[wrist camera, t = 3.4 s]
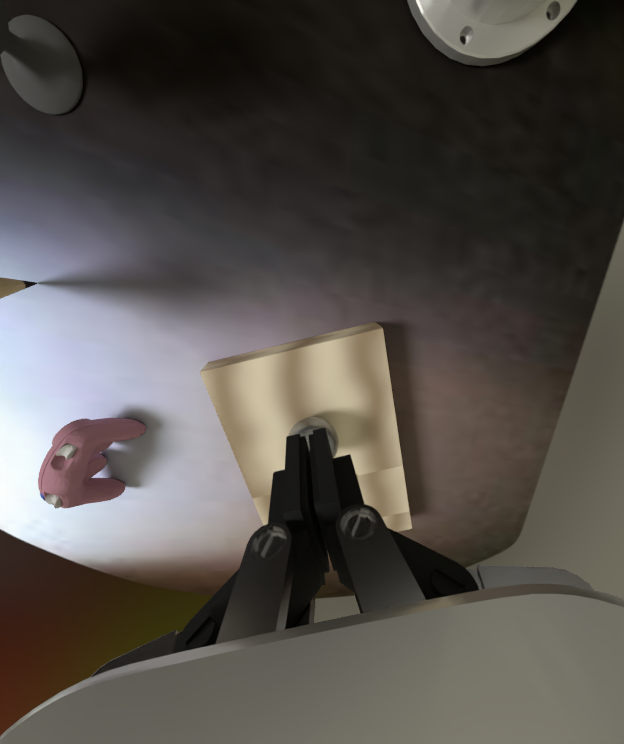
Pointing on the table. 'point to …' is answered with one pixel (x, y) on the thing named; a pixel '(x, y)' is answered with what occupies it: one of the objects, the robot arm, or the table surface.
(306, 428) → the steel ball
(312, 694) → the robot arm
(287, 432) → the hole board
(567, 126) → the table surface
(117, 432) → the video game controller
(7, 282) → the ice cream cone
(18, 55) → the sundae
